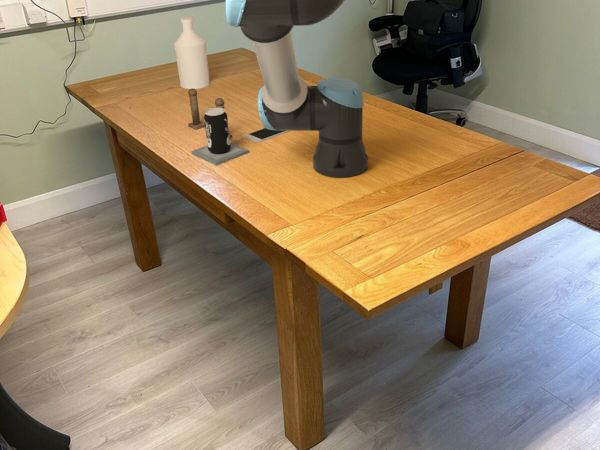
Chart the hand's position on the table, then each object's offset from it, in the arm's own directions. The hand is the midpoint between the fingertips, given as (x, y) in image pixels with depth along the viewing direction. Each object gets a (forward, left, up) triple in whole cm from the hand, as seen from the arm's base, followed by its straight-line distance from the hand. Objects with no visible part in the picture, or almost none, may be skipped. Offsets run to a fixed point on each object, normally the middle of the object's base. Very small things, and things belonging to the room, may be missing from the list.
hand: (296, 21), depth 161 cm
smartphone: (+11, +3, -35) cm, 37 cm away
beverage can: (+10, +23, -34) cm, 42 cm away
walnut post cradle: (+26, +15, -35) cm, 46 cm away
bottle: (+71, -11, -35) cm, 80 cm away
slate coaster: (+10, +23, -35) cm, 43 cm away
